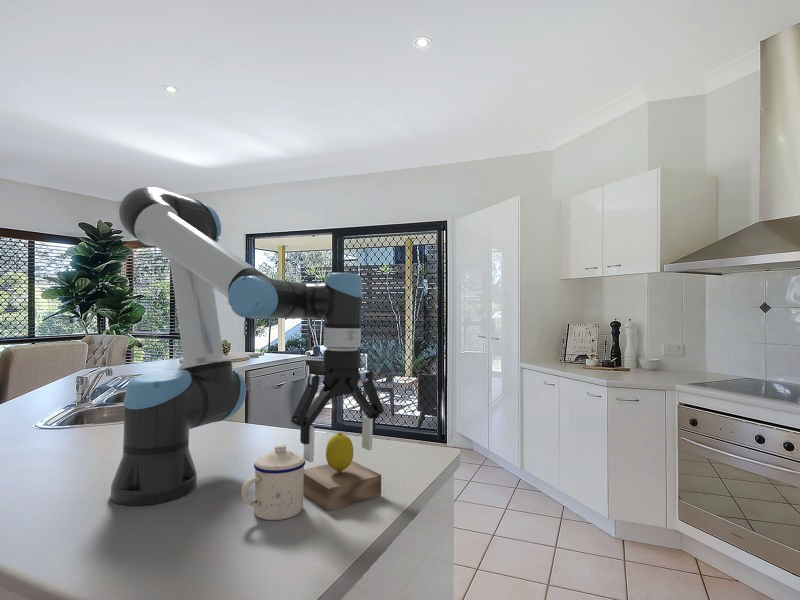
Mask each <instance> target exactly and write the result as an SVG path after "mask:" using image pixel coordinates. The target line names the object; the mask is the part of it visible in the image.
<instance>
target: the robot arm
mask: <svg viewBox="0 0 800 600" xmlns="http://www.w3.org/2000/svg"><path fill="white" fill-rule="evenodd" d="M118 216H119V221H120V222H121V225H122V226H123V228H124V229H125V230H126V231H127V233H128V234H130V235H131V236H132V237H133V238H135V239H136V240H138V241H139V242H140V243H142V244H144V245H145V246H149V247H156V248H157V249H159V250H160V254H161V256H162V257H164V258H165V259H167V260H168V261H169V265H170V272H171V278H172V279H171V281H172V286H173V287H172V288H173V292H174V299H175V307H176V313H177V314H176V316H177V320H178V321H177V322H178V327H179V336H180V343H181V350H182V358H183V361H182V362H181V364H180V365H179V366H178V368H177V369H165V370H157V371H156V370H155V371H151V372H148V373H143V374H141V375H138V376H135V377H133V378H132V379H130V380H129V382H127V384H126V387H125V395H124V396H125V397H124V399H123V405H124V416H123V417H124V418H123V419H124V420H123V422H124V423H123V443H122V445H123V446H122V457H121V459H120V461H119V465H118V466H117V469H116V472H115V475H114V478H113V480H112V482H111V486H110V499H111V501H112V502H114V503H116V504H119V505H123V506H124V505H125V506H146V505H153V504H159V503H164V502H168V501H172V500H175V499H177V498H178V499H179V498H181V497H183V496H185V495H187V494H189V493H191V492H192V491H193V490H194V489H196V487H197V482H198V481H197V479H198V474H197V473H198V472H197V469H196V466H195V463H194V460H193V458H192V453H191V452H190V451H191V450H190V447H189V445H190V444H189V443H190V442H189V440H190V430H191V429H195V428H198V427H201V426H205V425H209V424H212V423H218V422H221V421H224V420H226V419H228V418H230V417H232V416H234V415H235V414H237V413H238V412H239V411H240V409H241V407H242V406H243V404H244V402H245V399H246V395H247V385H246V384H247V383H246V380H245V379H244V376H243V375H242V374H241V373H240V372H239V371H238V370H236V369H234V368H233V363H232V359H231V358H230V357H228V356H227V355H226V354H224V350H223V342H222V336H221V330H220V329H221V328H220V322H219V315H218V309H217V303H216V296H215V291H216V290H217V291H218V292H219V293H221V294H222V295H223V296H225V297H226V298H227V300H228V304H229V305H230V308H231V310H232V312H233V313H234V314H236V315H237V316H239V317H241V318H248V319H253V320H260V319H262V320H263V319H289V320H290V319H292V320H296V319H299V320H300V319H305V320H307V319H308V320H311V319H313V320H314V319H316V320H318V319H319V320H323V325H324V326H323V327H324V328H323V329H324V330H323V347H324V348H326V349H324V350H323V352H322V353H323V354H322V355H323V357H322V367H323V373H322V375H319V374H315V373H309V374H308V376H307V377H308V378H307V385H306V387H305V389H304V391H303V393H302V395H301V398H300V400H299V402H298V403H297V407H296V408H295V409H294V413H293V414H292V416H291V419H290V422H291V423H292V424H294V425H295V426H298V427H300V436H299V437H300V438H299V439H300V440H299V441H300V443H301V444H303V457H304V459H305V462H308V463H310V464H311V463H314V457H315V428H316V427H315V426H312V425H313V423H314V422H315V421H316V419H317V418H318V416H319V415H320V413H321V412H322V410H324V408H325V407H326V405H327V404H328V402H329V401H330V400H332V399H333V398H334V396H335V397H341V396H343V395H345V396H350V395H351V396H352V397H353V399H354V400H355V402H356V403H357V404H358V406H359V407H360V408H361V410H362V411H363V412H364V414H365V416H362V429H361V448H363V449H365V450H367V451H372V450H373V433H375V432H376V420H377V419H379V417H380V415H381V414H383V413H384V412H385V410H384V407H383V405H382V402H381V399H380V397H379V394H378V392H377V389H376V386H375V384H374V382H373V372H372V371H370V370H366V369H365V370H364V369H363V370H362V371H361V372H360V367H361V351H360V350H359V348H361V346H362V345H361V341H362V340H361V339H362V337H361V336H362V309H363V308H362V307H363V297H364V294H363V280H362V277H361V276H360V275H359V274H356V273H351V272H330V273H327V274H326V275H325V280H324V282H320V283H318V282H317V283H314V282H313V283H312V282H311V283H308V282H307V283H306V282H297V281H291V280H290V281H289V280H283V279H275V278H272V277H269V276H267V275H266V274H264V273H263V272H261V271H260V270H258V269H257V268H256V267H255V266H254V265H253V266H252V265H251V264H249V263H248V262H246V260H244V259H242V258H241V257H239V256H238V255H236V254H234V252H232V251H230V250H229V249H228V248H226V247H225V246H223V245H221V244H220V243H219V240H220V239H219V237H221V235H222V234H221V233H222V223H221V220H220V217H219V215H218V214H217V212H216V210H214V209H213V208H212V207H211V206H209V205H208V204H206V203H203V202H201V201H200V200H198V199H195V198H190V197H189V198H188V197H186V196H182V195H179V194H176V193H174V192H170V191H167V190H165V189H162V188H159V187H151V186H145V187H139V188H136V189H133V190H131V191H130V192H128V193H127V194H126V195H125V196H124V197H123V198H122V200H121V202H120V205H119V211H118ZM359 381H361V384H362V386H363V389H364V391H365V393H366V396H367V398H368V399H367V398H366V396H365V395H364V393H363V391H362V389H361V388H360V387H359V386H358V383H359ZM322 384H323V387H322V388H321V389H320V391H319V393H318V395H317V392H318V390H319V387H320V386H321V385H322ZM316 395H317V397H316ZM315 397H316V398H315ZM314 398H315V399H314Z"/></svg>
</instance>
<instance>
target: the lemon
mask: <svg viewBox="0 0 800 600" xmlns="http://www.w3.org/2000/svg"><path fill="white" fill-rule="evenodd" d="M352 442H353V441H352V440H351V438H350V437H349V436H348V435H346V434H343V432H337V434H335V435H333V436H331V438H330V439H329V440H328V442H327V445H326V449H325V458H326V459H325V461H326V462H327V464H329V466H330V467H331V468H333V469H335V470H336V471H337V472H338V473H341V472H342V471H343V470H344V469H346V468H347V467H348V466H349V465H350V464H351V462H352V461H353V459H354V445H353V443H352Z"/></svg>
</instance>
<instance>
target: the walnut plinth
mask: <svg viewBox="0 0 800 600" xmlns="http://www.w3.org/2000/svg"><path fill="white" fill-rule="evenodd" d="M303 496H306V497H307V498H309V499H310V500H312V501H313V502H314V503H316V504H317V505H319V506H320V507H322V508H324V509H325V510H326V511H327V512H329V511H333V510H336V509H337V510H338V509H340V508H343V507H347V506H350V505H353V504H357V503H359V502H363V501H367V500H371V499H374V498H377V497H380V496H382V474H380V473H378V472H376V471H374V470H372V469H370V468H368V467H366V466H364V465H361V464H360V463H357V462H356V461H353V460H352V462H351V464H350V465H349V466H348V467H347V468H346V469H344V470H343V471H342V472H341V473H338V472H337V471H336V470H335V469H333V468H331V467H330V466H329V464H328V463H327V464H323V465H317V466H313V467H309V468H304V487H303Z"/></svg>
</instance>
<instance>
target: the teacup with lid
mask: <svg viewBox="0 0 800 600" xmlns="http://www.w3.org/2000/svg"><path fill="white" fill-rule="evenodd" d="M305 465H306V460H305V459H304V455H301V454H299V453H297V452H296V453H295V452H293V451H292V450H289V449H287V446H286V445H284V444H277V445H275V446H274V450H272V451H270V452H268V453H266V454H263V455H262V456H259V457H258V458H257V459H256V460H255V461H254V463H253V468H254V476H253V477H250V478H248V479H247V480H245V482H244V483H243V485H242V487H241V492H240V493H241V499H242V501H243V503H244V504H245V505H246V506H249V507H251V508H253V513H254V515H255V516H257V517H258V518H260V519H261V518H262V520H265V519H266V521H281V520H287V519H291V518H292V517H295V516H297V515H298V514H300V513H301V512H302V510H303V508H304V494H303V487H304V469H305ZM253 484H254V500H252V501H250V499H249V496H248V495H249V494H248V492H249V488H250V487H251V486H252V485H253Z"/></svg>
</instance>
